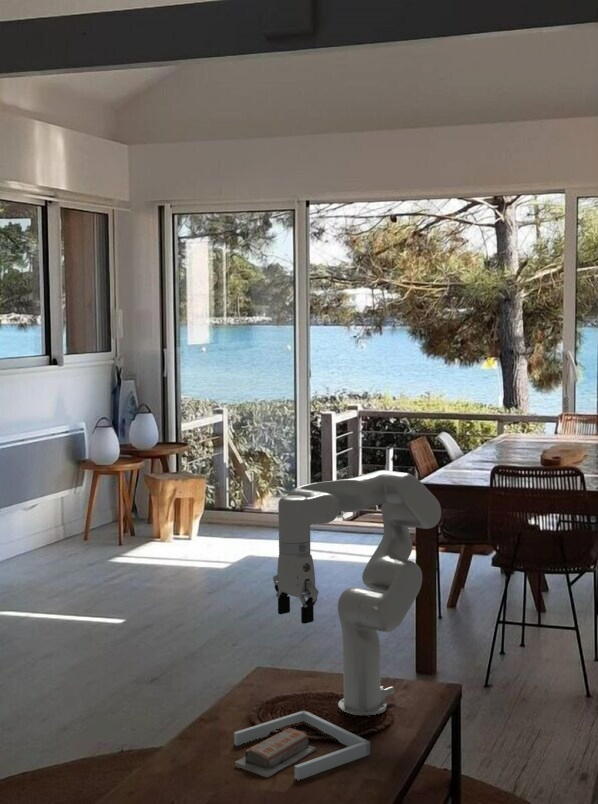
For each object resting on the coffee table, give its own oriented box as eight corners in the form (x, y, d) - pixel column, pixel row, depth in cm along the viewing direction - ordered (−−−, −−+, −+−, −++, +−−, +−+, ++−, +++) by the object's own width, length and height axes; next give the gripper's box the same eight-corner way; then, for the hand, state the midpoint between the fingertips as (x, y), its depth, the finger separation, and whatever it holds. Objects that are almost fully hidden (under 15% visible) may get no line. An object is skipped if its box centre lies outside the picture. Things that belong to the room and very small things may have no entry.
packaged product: (283, 723, 271) (316, 732, 265) (283, 742, 272) (316, 752, 266) (233, 748, 257) (267, 759, 251) (234, 768, 258) (267, 779, 252)
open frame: (304, 721, 283) (304, 710, 282) (370, 754, 263) (370, 741, 262) (234, 744, 270) (234, 732, 270) (298, 780, 250) (297, 767, 250)
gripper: (329, 552, 263) (329, 623, 265) (287, 539, 277) (287, 607, 279) (302, 556, 259) (303, 629, 261) (261, 543, 273) (262, 612, 275)
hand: (295, 617), depth 270 cm, fingers open, 9 cm apart
